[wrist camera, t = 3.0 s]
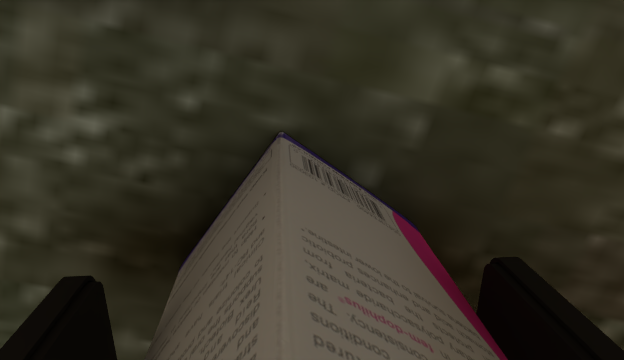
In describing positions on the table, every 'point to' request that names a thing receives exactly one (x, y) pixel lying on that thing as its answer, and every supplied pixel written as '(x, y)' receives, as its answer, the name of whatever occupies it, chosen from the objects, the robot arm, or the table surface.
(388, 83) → the table surface
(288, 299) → the supplement box
